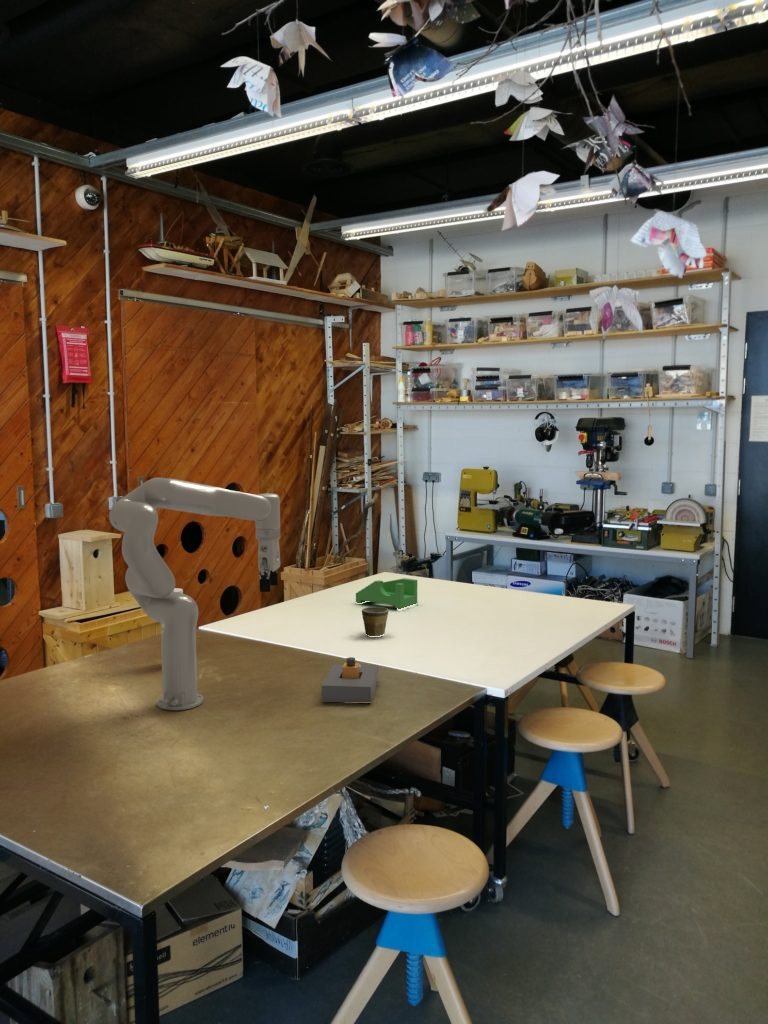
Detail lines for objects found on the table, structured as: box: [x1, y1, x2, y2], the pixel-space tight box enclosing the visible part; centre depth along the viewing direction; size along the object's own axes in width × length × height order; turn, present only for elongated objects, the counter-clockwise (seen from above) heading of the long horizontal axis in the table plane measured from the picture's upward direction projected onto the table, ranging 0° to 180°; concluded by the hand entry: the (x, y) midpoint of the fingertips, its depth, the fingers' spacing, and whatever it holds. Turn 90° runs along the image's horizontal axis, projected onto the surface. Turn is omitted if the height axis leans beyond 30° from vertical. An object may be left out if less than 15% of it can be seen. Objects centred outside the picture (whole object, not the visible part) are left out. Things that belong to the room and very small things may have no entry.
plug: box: [342, 656, 360, 679], centre depth 226 cm, size 4×4×9 cm
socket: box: [321, 663, 379, 703], centre depth 227 cm, size 20×14×6 cm
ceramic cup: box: [361, 606, 389, 636], centre depth 290 cm, size 13×10×10 cm
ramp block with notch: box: [355, 577, 418, 609], centre depth 339 cm, size 24×13×12 cm, turn 55°
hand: (268, 588), depth 237 cm, fingers open, 9 cm apart
